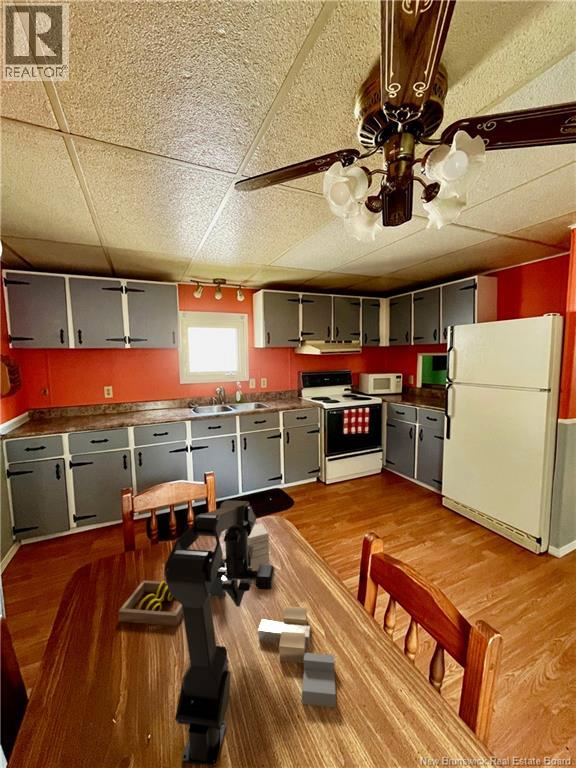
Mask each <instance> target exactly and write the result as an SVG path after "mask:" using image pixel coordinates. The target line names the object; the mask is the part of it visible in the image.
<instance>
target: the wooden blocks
mask: <svg viewBox="0 0 576 768" xmlns="http://www.w3.org/2000/svg"><path fill="white" fill-rule="evenodd" d="M283 611H284V612H283V617H282V619H283V621H282V622H283V623H291V624H298V625H305V626H308V625H307V624H308V623H307V622H308V621H307V620H308V618H307V617H308V616H307V615H308V614H307V613H308V609H307V607H306V606H305V607H302V606H290V605H285V606H284V610H283ZM278 650H279V654H278V656H279V661H280V662H287V663H288V662H290V663H301V664H304V653H306V647H305V633H295V632H283V631H281V638H280V643H279V646H278Z"/></svg>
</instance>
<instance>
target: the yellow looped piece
mask: <svg viewBox="0 0 576 768" xmlns="http://www.w3.org/2000/svg"><path fill="white" fill-rule="evenodd" d="M161 581H162V582H161V584H160V586H159V588H158V590H157V593H156V594H154V593H150V594H147V595H146V596H145V597H144V598H143V599H142V600H141V602H140V603H139V606H138V610H149V611H161V610H162V602H163V601H168V602H171V601H172V599H174V597H173V596H172V595H171V594H170V592H169V589H168V586H167V584H165V582H166V581H165V580H161Z"/></svg>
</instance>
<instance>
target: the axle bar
mask: <svg viewBox="0 0 576 768" xmlns="http://www.w3.org/2000/svg"><path fill="white" fill-rule="evenodd" d="M281 631H283V632H295V633H305V648H306V649H307V648H310V640H311V626H310V625H307V626H305V625H298V624H291V623H283V621H282V622H281V621H274V620H268V619H261V621H260V624H259V627H258V641H262V642H267V643H272V644H273V643H274V644H280V638H281Z"/></svg>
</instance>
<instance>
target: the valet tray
mask: <svg viewBox="0 0 576 768" xmlns="http://www.w3.org/2000/svg"><path fill="white" fill-rule="evenodd" d="M162 581H163V580H161V581H159V580H145V579H144V580H142V581H141V583H140V584H139V585H138V586H137V588H136V589H135V590H134V591H133V592H132V594H131V595H130V597H129V598H128V599H127V600H126V601H125V603H123V605H122V606H121V608H119V610H118V621H119V622H126V623H127V622H128V623H138V624H149V625H150V624H151V625H164V626H173V627H177V626H178V624H179V623H180V621H181V620H182V617H183V610H182V605H181V603H180V602H179V604H178V606H177V607H176V610H174V611H173V612H172V611H161V610H160V611H149V610H139V609H137V608H136V609H135V608H134V607H135V605H136V604H137V603H138V602H139V600H140V599H141V598H142V596H143V595H144V594H145V592H146V593H156V594H157V590H158V588H159V586H160V584H161V582H162ZM164 582H165V584H167V583H166V581H164Z"/></svg>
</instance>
